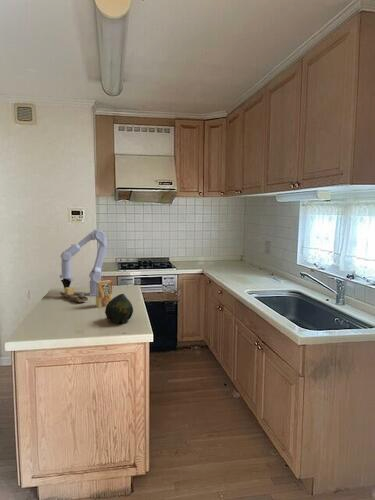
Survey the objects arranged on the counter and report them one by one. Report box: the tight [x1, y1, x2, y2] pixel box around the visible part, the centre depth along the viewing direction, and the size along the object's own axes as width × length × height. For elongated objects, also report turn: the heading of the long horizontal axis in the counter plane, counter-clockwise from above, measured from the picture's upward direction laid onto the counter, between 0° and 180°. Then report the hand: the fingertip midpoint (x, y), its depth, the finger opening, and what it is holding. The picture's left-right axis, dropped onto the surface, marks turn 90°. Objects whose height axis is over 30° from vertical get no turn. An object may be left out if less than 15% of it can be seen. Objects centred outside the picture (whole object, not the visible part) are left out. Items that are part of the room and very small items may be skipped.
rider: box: [64, 286, 75, 295], centre depth 241 cm, size 4×4×4 cm
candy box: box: [95, 279, 113, 309], centre depth 223 cm, size 9×4×15 cm, turn 129°
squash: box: [104, 293, 134, 324], centre depth 197 cm, size 14×15×15 cm
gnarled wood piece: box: [59, 291, 89, 303], centre depth 237 cm, size 24×7×6 cm, turn 46°
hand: (66, 290), depth 243 cm, fingers closed
